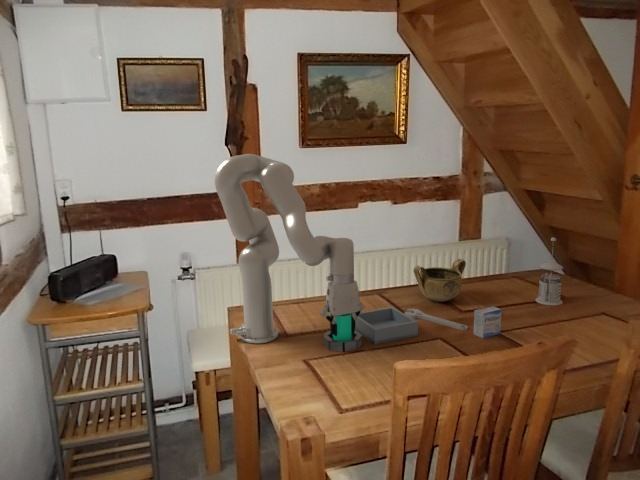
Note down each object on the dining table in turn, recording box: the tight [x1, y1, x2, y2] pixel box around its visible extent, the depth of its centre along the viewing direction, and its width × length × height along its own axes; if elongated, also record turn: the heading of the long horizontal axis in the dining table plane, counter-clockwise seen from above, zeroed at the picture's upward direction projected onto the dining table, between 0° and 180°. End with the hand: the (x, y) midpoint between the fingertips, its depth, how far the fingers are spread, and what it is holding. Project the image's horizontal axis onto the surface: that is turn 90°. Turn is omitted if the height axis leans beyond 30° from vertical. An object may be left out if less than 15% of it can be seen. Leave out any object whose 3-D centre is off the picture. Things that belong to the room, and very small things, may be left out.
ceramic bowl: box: [413, 258, 467, 303], centre depth 218 cm, size 22×17×15 cm
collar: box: [322, 329, 363, 353], centre depth 179 cm, size 12×12×3 cm
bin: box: [355, 306, 419, 345], centre depth 188 cm, size 16×16×5 cm
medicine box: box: [473, 305, 502, 340], centre depth 184 cm, size 8×4×9 cm, turn 117°
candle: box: [333, 314, 352, 341], centre depth 178 cm, size 6×6×12 cm
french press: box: [534, 237, 564, 306], centre depth 212 cm, size 10×12×25 cm
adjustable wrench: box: [404, 308, 469, 332], centre depth 197 cm, size 25×6×2 cm, turn 41°
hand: (343, 332), depth 178 cm, fingers closed on candle, 5 cm apart
